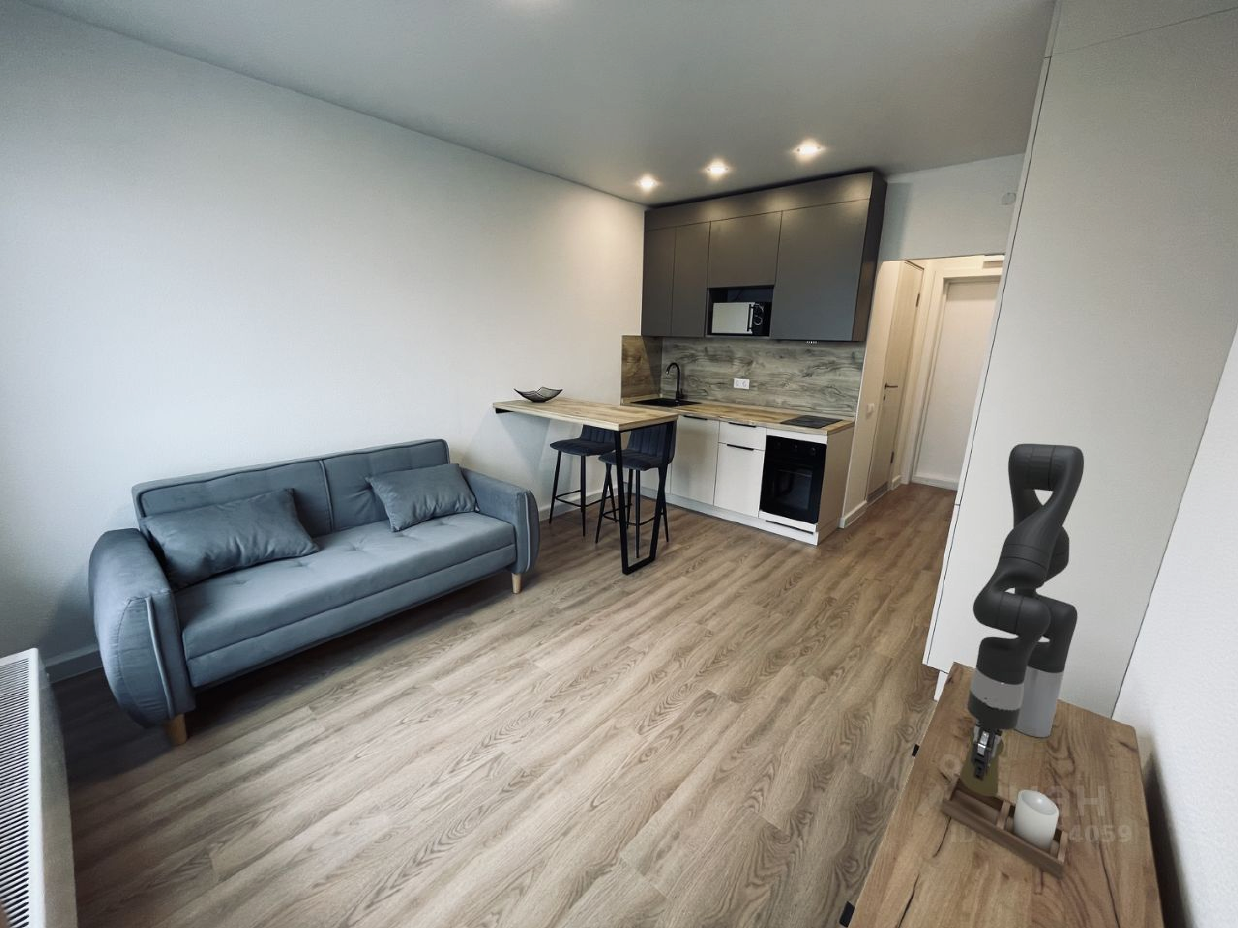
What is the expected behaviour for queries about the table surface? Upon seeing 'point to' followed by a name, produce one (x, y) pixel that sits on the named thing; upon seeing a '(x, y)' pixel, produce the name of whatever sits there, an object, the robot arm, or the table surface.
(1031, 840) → the salt shaker
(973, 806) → the caddy
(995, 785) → the pepper shaker
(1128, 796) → the table surface
